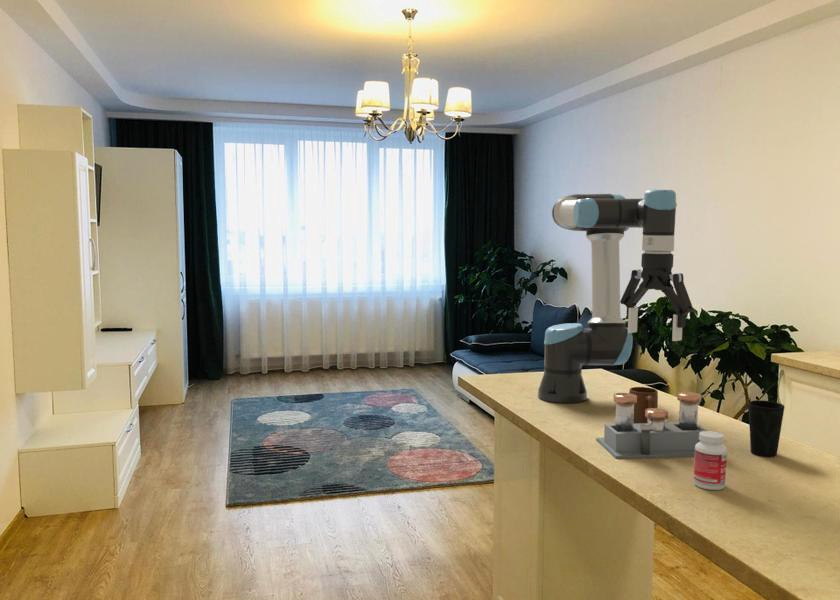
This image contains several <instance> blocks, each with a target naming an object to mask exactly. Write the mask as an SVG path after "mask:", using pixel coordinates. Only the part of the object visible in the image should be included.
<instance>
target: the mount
mask: <svg viewBox="0 0 840 600" xmlns="http://www.w3.org/2000/svg"><path fill="white" fill-rule="evenodd" d="M641 424H647V423H638V424H633V431H631V432H622V431H618V430H616V429H615V423H604V433H603V434H604V436H603V437H596V439H595V440H596V442H597V443H598V444H600V445H601V446H602V447H603V448H604V449H605V450H606V451H607V452H608V453H609V454H611V456H612V457H614V459H640V458H641V459H644V458H645V459H646V458H647V459H648V458H653V459H654V458H685V457H686V458H688V457H689V458H691V457H692V458H693V457H694V458H695V445H696V444H697V443H698V442H700V440H699V433H700V432H702V431H709V430H708V429H706V428H705V427H703V426H701V425H699V424H698V423H697V430H683V429H680V428H679V422H666V425H665V431H650V454H649V455H643V454H641V429H640V425H641Z"/></svg>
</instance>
